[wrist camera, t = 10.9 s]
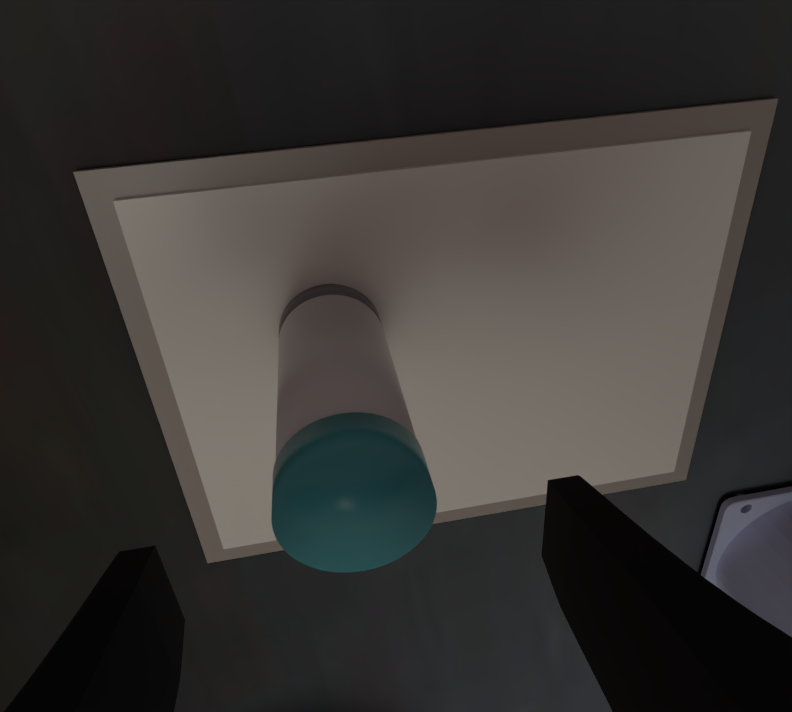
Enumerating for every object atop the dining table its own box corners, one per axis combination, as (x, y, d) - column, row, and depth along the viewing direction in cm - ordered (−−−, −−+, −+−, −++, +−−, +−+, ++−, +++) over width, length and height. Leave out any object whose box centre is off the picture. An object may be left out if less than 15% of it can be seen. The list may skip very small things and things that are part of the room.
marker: (376, 275, 18) (432, 436, 11) (386, 366, 19) (440, 555, 13) (267, 290, 18) (255, 466, 11) (287, 382, 19) (287, 585, 12)
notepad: (773, 97, 17) (783, 99, 17) (683, 476, 25) (688, 483, 25) (75, 170, 15) (70, 173, 15) (208, 559, 23) (207, 567, 23)
